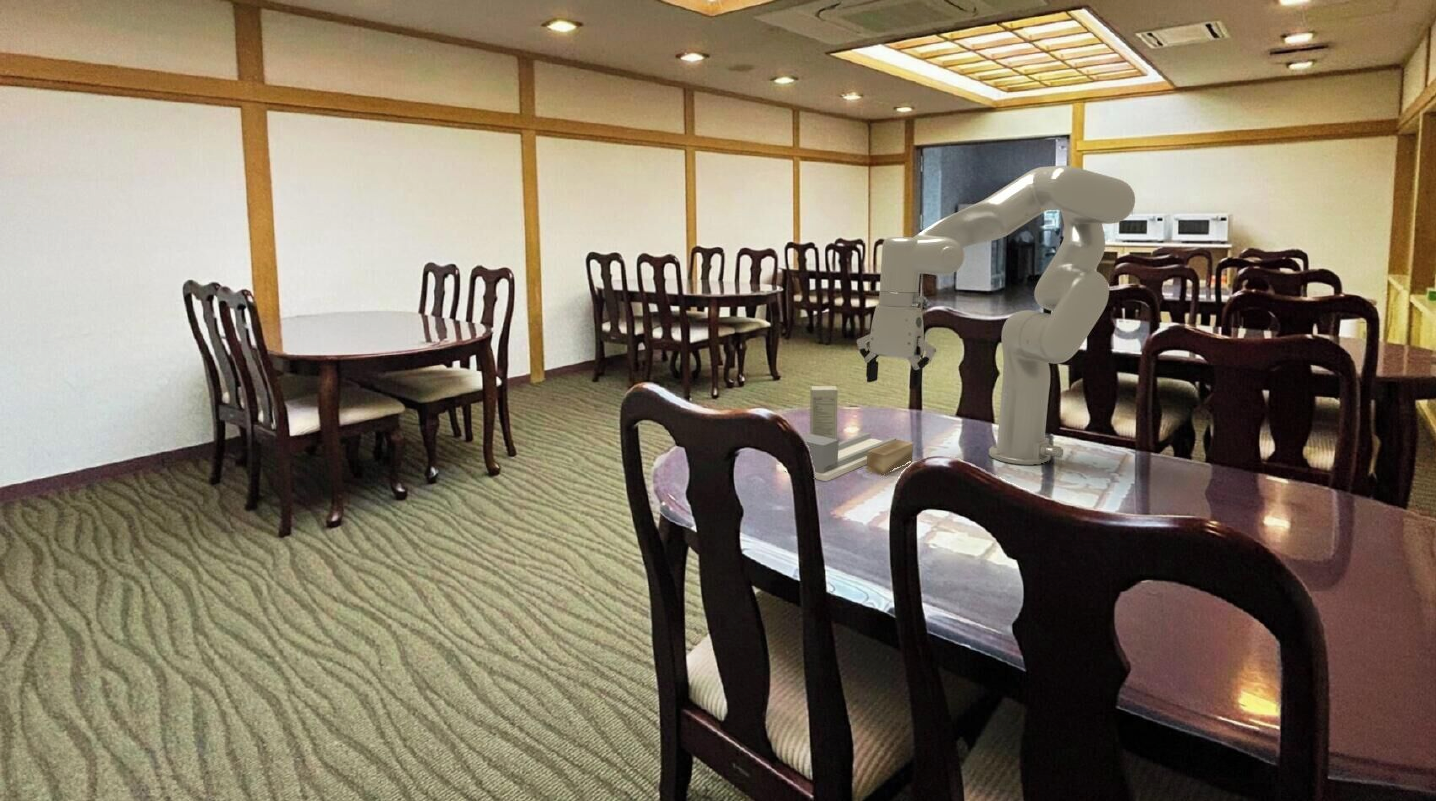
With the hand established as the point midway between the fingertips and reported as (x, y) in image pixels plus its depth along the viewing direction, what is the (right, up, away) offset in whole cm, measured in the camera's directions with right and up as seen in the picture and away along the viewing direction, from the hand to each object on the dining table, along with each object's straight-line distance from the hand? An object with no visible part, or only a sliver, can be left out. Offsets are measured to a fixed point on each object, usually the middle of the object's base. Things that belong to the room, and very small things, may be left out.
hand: (892, 384), depth 174 cm
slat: (0, -17, +4) cm, 18 cm away
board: (-8, -16, +8) cm, 20 cm away
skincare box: (-11, -12, +25) cm, 30 cm away
